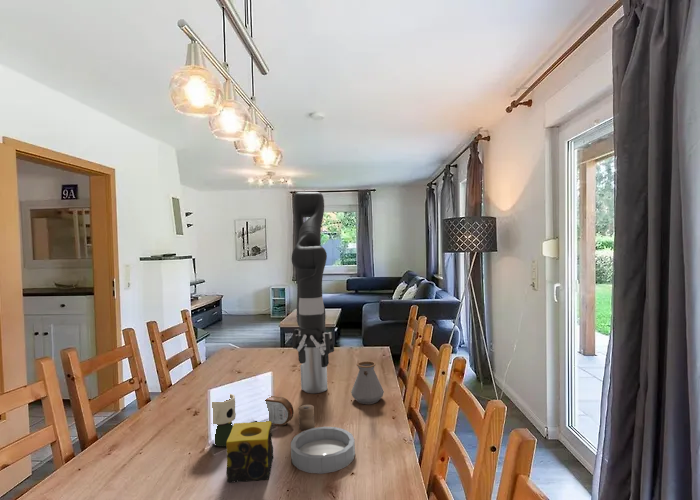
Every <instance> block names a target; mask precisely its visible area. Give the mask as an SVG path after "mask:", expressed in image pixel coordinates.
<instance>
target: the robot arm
mask: <svg viewBox="0 0 700 500" xmlns="http://www.w3.org/2000/svg"><path fill="white" fill-rule="evenodd" d="M324 213H325V199H324V195H323V194H322V193H321V192H318V191H298V192H295V194H294V196H293V214H294V215H293V216H294V226H295V247H294V248H293V250H292V253H291V263H292V266H293V267H294V268H295V269H296V270H295V271H296V322H297V326H298V327H299V328H295V329H293V330H292V348H293V349H294V350H297V352H298V353H297V354H298V362H299V364H301V365H300V389H301V390H302V391H303V392H305V393H308V394H319V393H323V392H325V391H327V390H328V370H327V367H328V366H329V363H330V361H329V354H331V353H334V351H335V346H334V345H335V343H334V342H335V341H334V334H333V332H332V331H329V332H326V308H325V305H324V298H323V275H324V270H325V268H326V263H327V259H328V257H327V256H328V253H327V250H326V249H325V248H324V247H323V246H321V240H322V239H321V238H322V237H321V236H322V235H321V231H322V225H323V220H324ZM304 218H307V219H306V220H305V221H304Z"/></svg>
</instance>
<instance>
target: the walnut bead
mask: <svg viewBox="0 0 700 500" xmlns="http://www.w3.org/2000/svg"><path fill="white" fill-rule="evenodd" d="M298 422H299V423H298V426H299V427H298V428H299V430H300V431H301V432H303V431H306V430H309V429H312V428H316V427H315V426H316V425H315V406H314V405H312V404H303V405H300V406H299V407H298Z"/></svg>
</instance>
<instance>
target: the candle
mask: <svg viewBox="0 0 700 500" xmlns="http://www.w3.org/2000/svg"><path fill="white" fill-rule="evenodd" d="M272 436H273V434H272V422H271V421H266V422H256V421H254V422H253V421H252V422H235V423H233V427H232V430H231V433H230V435H229V437H228V439H227V442H226V446H225V447H226V471H225V472H226V478H227V479H226V481H227V483H229V484H230V483H240V482H241V483H243V482H252V481H253V482H254V481H265V480H267V481H268V480H269V478H270V475H271V472H272V471H271V470H272V465H273V460H274V446H273V440H272V439H273V438H272Z"/></svg>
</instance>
